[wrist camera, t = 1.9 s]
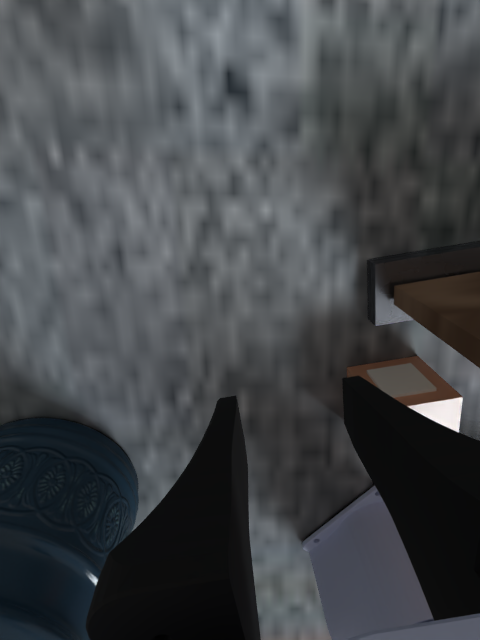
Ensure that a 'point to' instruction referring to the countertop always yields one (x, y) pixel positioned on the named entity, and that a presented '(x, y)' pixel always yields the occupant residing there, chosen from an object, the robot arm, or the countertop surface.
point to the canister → (58, 523)
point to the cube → (415, 388)
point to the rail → (414, 275)
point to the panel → (446, 310)
